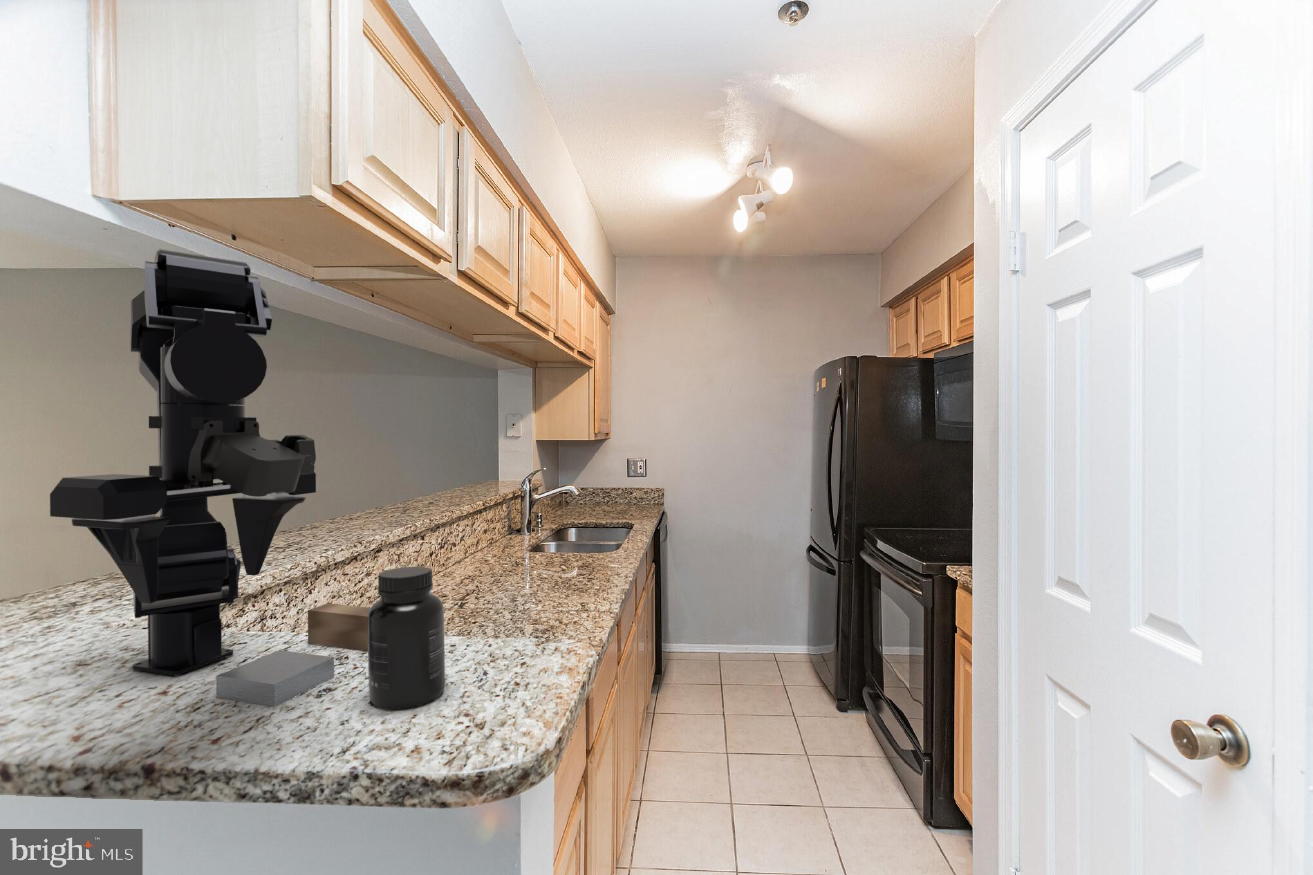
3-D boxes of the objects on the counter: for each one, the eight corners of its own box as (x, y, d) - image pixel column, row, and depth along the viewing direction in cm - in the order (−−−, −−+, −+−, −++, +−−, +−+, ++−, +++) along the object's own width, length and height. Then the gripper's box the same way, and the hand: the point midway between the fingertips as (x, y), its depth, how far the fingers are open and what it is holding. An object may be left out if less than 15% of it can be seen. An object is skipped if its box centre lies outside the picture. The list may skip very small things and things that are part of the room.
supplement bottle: (421, 674, 63) (421, 560, 63) (458, 693, 59) (458, 570, 59) (354, 697, 58) (354, 572, 58) (389, 719, 54) (389, 584, 53)
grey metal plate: (216, 701, 58) (216, 675, 58) (280, 673, 64) (280, 649, 64) (274, 711, 56) (274, 684, 56) (334, 681, 63) (334, 657, 62)
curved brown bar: (307, 643, 72) (307, 610, 72) (327, 635, 75) (327, 603, 75) (407, 655, 68) (407, 620, 68) (424, 646, 71) (424, 612, 71)
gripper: (164, 401, 40) (166, 633, 41) (363, 408, 58) (363, 569, 59) (43, 400, 43) (45, 618, 43) (269, 408, 61) (269, 561, 61)
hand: (205, 587), depth 52 cm, fingers open, 9 cm apart
